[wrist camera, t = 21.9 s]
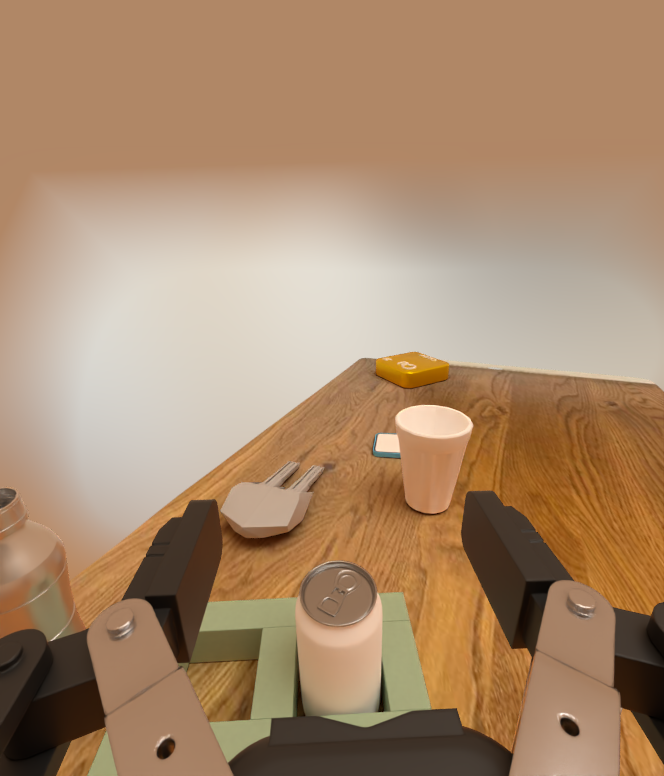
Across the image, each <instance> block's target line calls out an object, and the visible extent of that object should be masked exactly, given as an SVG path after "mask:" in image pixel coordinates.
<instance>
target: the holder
mask: <svg viewBox="0 0 664 776" xmlns="http://www.w3.org/2000/svg"><path fill="white" fill-rule="evenodd" d="M378 594H379V596H380V599H381V603H382V660H381V694H382V700H383V707H384V712H375V713H358V714H341V715H325V716H321V717H324V718H328V719H332V720H336V721H340V722H344V723H348V724H352V725H356V726H360V727H370V726H373V725H376V724H378V723H381V722H383V721H386V720H389V719H391V718H394V717H397V716H399V715H402V714H405V713H407V712H410V711H417V710H432V709H431V705H430V701H429V696H428V692H427V688H426V684H425V680H424V676H423V672H422V668H421V664H420V660H419V656H418V652H417V648H416V644H415V639H414V635H413V631H412V627H411V623H410V619H409V615H408V611H407V607H406V603H405V599H404V595H403V592H394V593H378ZM297 598H298V597H297ZM297 598H277V599H258V600H238V601H219V602H208V604H207V607H206V610H205V614H204V617H203V620H202V624H201V627H200V631H199V634H198V637H197V641H196V644H195V648H194V651H193V654H192V658H191V661H190V663H199V662H217V661H236V660H254V659H258V666H257V674H256V681H255V688H254V695H253V703H252V710H251V717H250V720H240V721H223V722H209V723H210V725H211V728H212V730H213V732H214V734H215V736H216V739H217V741H218V743H219V745H220V747H221V749H222V752H223V754H224V756H225V758H226V760H227V762H229V761H230V760H231V759H233V758H234V757H235V756H236V755H237V754H238V753H239V752H241V751H242V750H244V749H245V748H246V747H248V746H249V745H251V744H253V743H255V742H256V741H258V740H260V739H262V738H265V737H267V736H270V728H271V718H284V717H297V704H298V679H299V660H298V647H297V634H296V620H295V607H296V601H297ZM178 665H179V667H180V666H182V667H183V668H184V670H185V671H186V672H187V668H188V665H189V663H178ZM87 776H118V775H117V771H116V767H115V763H114V759H113V755H112V750H111V746H110V742H109V738H108V734H107V731H106V733H105V735H104V738H103V740H102V742H101V745H100V747H99V749H98V752H97V754H96V756H95V759H94V761H93V763H92V766H91V768H90V770H89V773H88V775H87Z"/></svg>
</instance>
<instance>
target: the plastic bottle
mask: <svg viewBox="0 0 664 776" xmlns="http://www.w3.org/2000/svg"><path fill="white" fill-rule="evenodd" d="M28 517H29V512H28V509H27V507H26V505H25V504H24V503H23V501H22V498H21V495H20V493H19V491H18V490H17V489H15V488H12V487H1V488H0V639H1V638H2V637H4V636H7V635H9V634H11V633H14V632H16V631H20V630H25V629H36V630H39V631H41V632H43V633H44V635H45V636H46V639H47V641H48V642H49V641H52V640H55V639H59V638H62V637H65V636H68V635H71V634H74V633H78V632H81V631H83V630H86V628H85V626H84V624H83V622H82V620H81V618H80V616H79V614H78V612H77V609H76V606H75V602H74V598H73V594H72V591H71V587H70V582H69V574H68V566H67V558H66V552H65V548H64V544H63V542H62V540H61V539H60V538H59V537H58V536H57V534H56V533H55V532H54V531H53V530H51V529H49V528H47V527H45V526H43V525H41V524H39V523H36V522H34V521H31V520H28Z"/></svg>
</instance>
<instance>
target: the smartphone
mask: <svg viewBox="0 0 664 776" xmlns="http://www.w3.org/2000/svg"><path fill="white" fill-rule="evenodd" d="M373 455H374V456H377V457H391V458H401V456H400V447H399V439H398V436H397V433H378V434H376V436H375V441H374V446H373Z"/></svg>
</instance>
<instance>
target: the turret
mask: <svg viewBox="0 0 664 776" xmlns="http://www.w3.org/2000/svg"><path fill="white" fill-rule="evenodd" d="M290 462H291V461H288V462H287V463H286V464H285V465H284V466H282V467H281V468H280V469H279V470H278V471H277V472H275V473H274V474H273V475H272V476H270V477H269V478H267V479H266V480H265V481H264V482H242V483H240V484H238V485H236V486H234V487H232V489H231V491H230V493H229V495H228V497H227V499H226V500H225V502H224V504H223V506H222V508H221V510H220V511H221V513H222V514H223V516H224V517H225V519H226V520H227V521H228V523H229V524H230V526H231V527H232V528H233V530H234V531H235V532H237V533H239V534H240V535H242V536H243V537H245V538H265V537H269V536H273V535H277V534H282V533H286V532H289V531H290V530H291V529H293V528H294V527H295V526H296V525H297V524H299V523H300V522H301V521H302V520H303V518H304V516H305V513H306V510H307V508H308V505H309V502H310V500H311V497H312V494H313V492H307V491H308V490H309V489H310V486H311V485H312V484H313V483H314V482H315V481H316V480H317V478H318V477H319V476H320V475H321V474H322V473H323V470H324V467H320V466H315V465H313V466H311V467H310V468H309V469H308V470H307V471H306V473H305V474H304V475H303V476H302V477H301V478H300V479H299V480H298V481H296V482H294V484H293V485H292V486H291V487H290V488H287V489H285V487H280V486H281V485H282V484H283V482H284V481H285V480H286V479H287V478H288V477H290V476H291V475H292V474H293V473H294V472H295V471H296V470H297V469H298V468H299V466H300V463H295V462H291V463H290ZM314 466H315V467H314ZM284 489H285V490H284Z"/></svg>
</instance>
